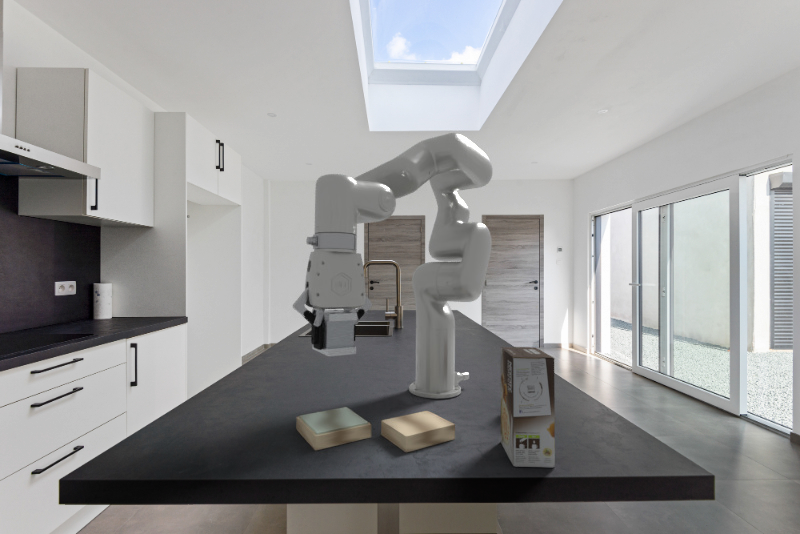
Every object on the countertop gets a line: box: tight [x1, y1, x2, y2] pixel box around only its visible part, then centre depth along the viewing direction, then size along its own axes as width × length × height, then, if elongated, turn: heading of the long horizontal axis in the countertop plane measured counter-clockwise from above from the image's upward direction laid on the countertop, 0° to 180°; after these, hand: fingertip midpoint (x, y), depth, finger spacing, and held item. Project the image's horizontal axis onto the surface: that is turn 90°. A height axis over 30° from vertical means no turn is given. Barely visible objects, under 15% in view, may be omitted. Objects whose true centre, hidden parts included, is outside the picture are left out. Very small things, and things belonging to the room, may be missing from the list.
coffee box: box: [499, 346, 556, 469], centre depth 61 cm, size 9×6×16 cm
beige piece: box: [380, 410, 456, 453], centre depth 66 cm, size 10×8×2 cm
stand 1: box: [295, 406, 372, 451], centre depth 68 cm, size 10×10×2 cm
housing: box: [311, 309, 357, 357], centre depth 68 cm, size 8×5×7 cm, turn 32°
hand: (333, 346), depth 68 cm, fingers closed on housing, 5 cm apart
